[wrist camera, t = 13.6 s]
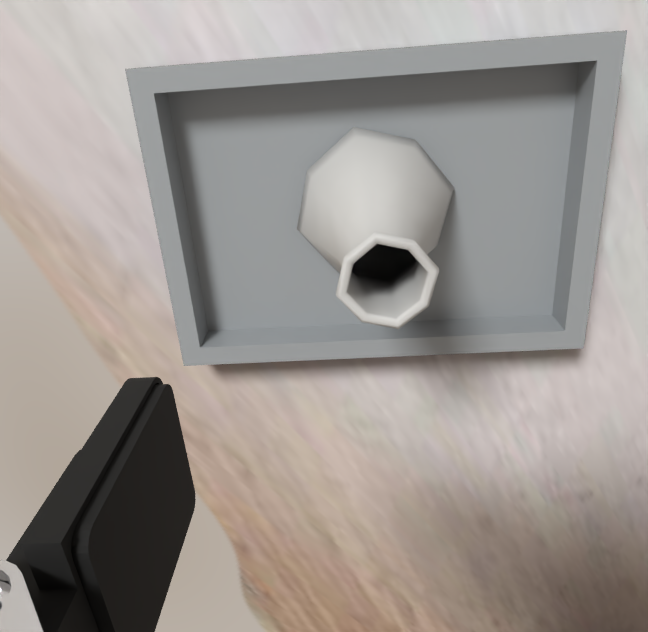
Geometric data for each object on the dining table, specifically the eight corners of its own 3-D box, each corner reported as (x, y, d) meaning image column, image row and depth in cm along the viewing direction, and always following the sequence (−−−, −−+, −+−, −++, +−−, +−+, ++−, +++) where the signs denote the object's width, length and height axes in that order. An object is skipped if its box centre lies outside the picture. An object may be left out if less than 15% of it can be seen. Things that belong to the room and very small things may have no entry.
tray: (144, 67, 26) (125, 69, 23) (601, 32, 24) (627, 30, 22) (195, 343, 31) (184, 365, 29) (565, 326, 30) (583, 348, 28)
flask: (480, 178, 27) (549, 243, 17) (397, 301, 29) (419, 413, 20) (346, 97, 25) (346, 121, 16) (272, 233, 28) (237, 320, 19)
